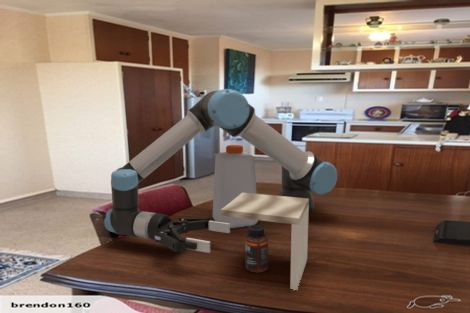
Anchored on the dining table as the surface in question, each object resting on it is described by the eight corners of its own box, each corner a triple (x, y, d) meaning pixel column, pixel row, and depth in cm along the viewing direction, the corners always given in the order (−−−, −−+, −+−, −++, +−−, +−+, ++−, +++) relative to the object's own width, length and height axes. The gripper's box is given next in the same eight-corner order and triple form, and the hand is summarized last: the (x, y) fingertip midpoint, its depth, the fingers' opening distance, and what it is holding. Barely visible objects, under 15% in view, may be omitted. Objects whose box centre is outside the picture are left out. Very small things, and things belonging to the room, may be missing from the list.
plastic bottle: (210, 216, 125) (208, 144, 120) (247, 212, 130) (247, 142, 125) (220, 231, 111) (219, 149, 106) (261, 225, 116) (262, 147, 111)
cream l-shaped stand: (222, 276, 82) (220, 209, 79) (242, 249, 96) (242, 192, 94) (297, 290, 75) (298, 218, 72) (307, 259, 90) (308, 198, 87)
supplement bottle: (270, 264, 88) (270, 224, 86) (265, 275, 82) (265, 232, 80) (249, 261, 90) (249, 221, 88) (242, 271, 84) (242, 230, 82)
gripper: (176, 224, 107) (236, 233, 100) (125, 256, 84) (199, 271, 77) (175, 202, 106) (236, 210, 99) (124, 228, 83) (199, 241, 76)
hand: (220, 237), depth 88 cm, fingers open, 13 cm apart
